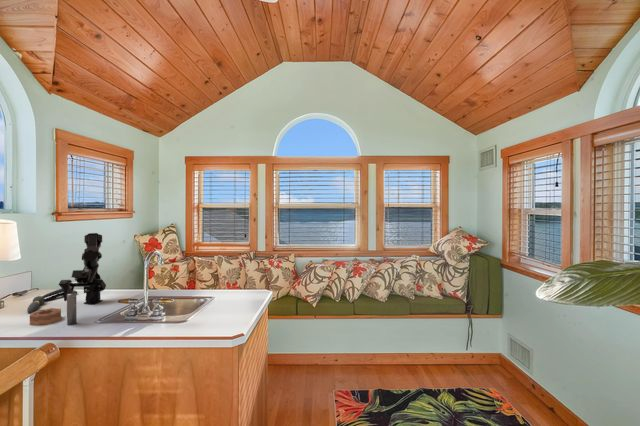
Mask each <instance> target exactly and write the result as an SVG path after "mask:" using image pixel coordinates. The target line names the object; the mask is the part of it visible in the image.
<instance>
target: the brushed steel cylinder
mask: <svg viewBox="0 0 640 426" xmlns="http://www.w3.org/2000/svg"><path fill="white" fill-rule="evenodd" d="M77 316H78V315H77V294H76V293H68V294H67V301H66V325H67V326H74V325H76V324H77V323H78V322H77V321H78V319H77V318H78V317H77Z"/></svg>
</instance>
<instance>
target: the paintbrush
mask: <svg viewBox="0 0 640 426" xmlns="http://www.w3.org/2000/svg"><path fill="white" fill-rule="evenodd" d="M42 296H43V295H42ZM42 296H41V295H38V296H34V298H33V299H32V302H31V303H30V304H29V305H28V307H27V310H26V311H27V313H28V314H29V313H30V314H31V313H33V312H36V311H37V309H38V308H39V306H43V304H44V303H45V302H44V301H45V299H46V298H44V297H42Z"/></svg>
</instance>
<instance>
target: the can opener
mask: <svg viewBox="0 0 640 426" xmlns="http://www.w3.org/2000/svg"><path fill="white" fill-rule="evenodd" d="M72 291H73V292H72V293H76V295H77V294H78V291H77V290H75V289H73V290H72ZM42 297H44V299H45V301H44V303H47V302H50V301H52V300H55V299H57V298H60V297H64V290H63V289H62V288H59V289H56V290H53V291H51V292H49V293H46V294H44V295H42Z"/></svg>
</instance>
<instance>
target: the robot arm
mask: <svg viewBox="0 0 640 426" xmlns="http://www.w3.org/2000/svg"><path fill="white" fill-rule="evenodd" d="M83 241H84V244H85V245H86V248H85V249H84V251H83V252H82V255H81V260H82V261H83V266H84V267H83V268H82V269H77V270H72V273H71V276H70V277H71V278H74V282H73V281H72V280H71V279H61V280H60V281H59V283H58V286H59V287H60V289H63V290H64V296H63V301H64V302H67V294H68V293H72V292H73V291H72V290H73V289H74V288H77V287H78V288H79V287H80V288H81V287H82V288H83V294H85V301H84V302H83V304H84V305H95V304H98V303H101V302H103V301H104V299H101V292H103V291H105V290H106V288H107V283H106V282H104V280H103V279H102V277H101V275H100V274H99V273H98V269H99V267H100V265H99V262H100V260H101V259H102V257H103V254H102V253H101V252H100V248H101V247H102V243H103V234H99V232H98V233H97V232H91V233H87V234H85V235H84V240H83ZM74 290H75V289H74Z"/></svg>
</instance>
